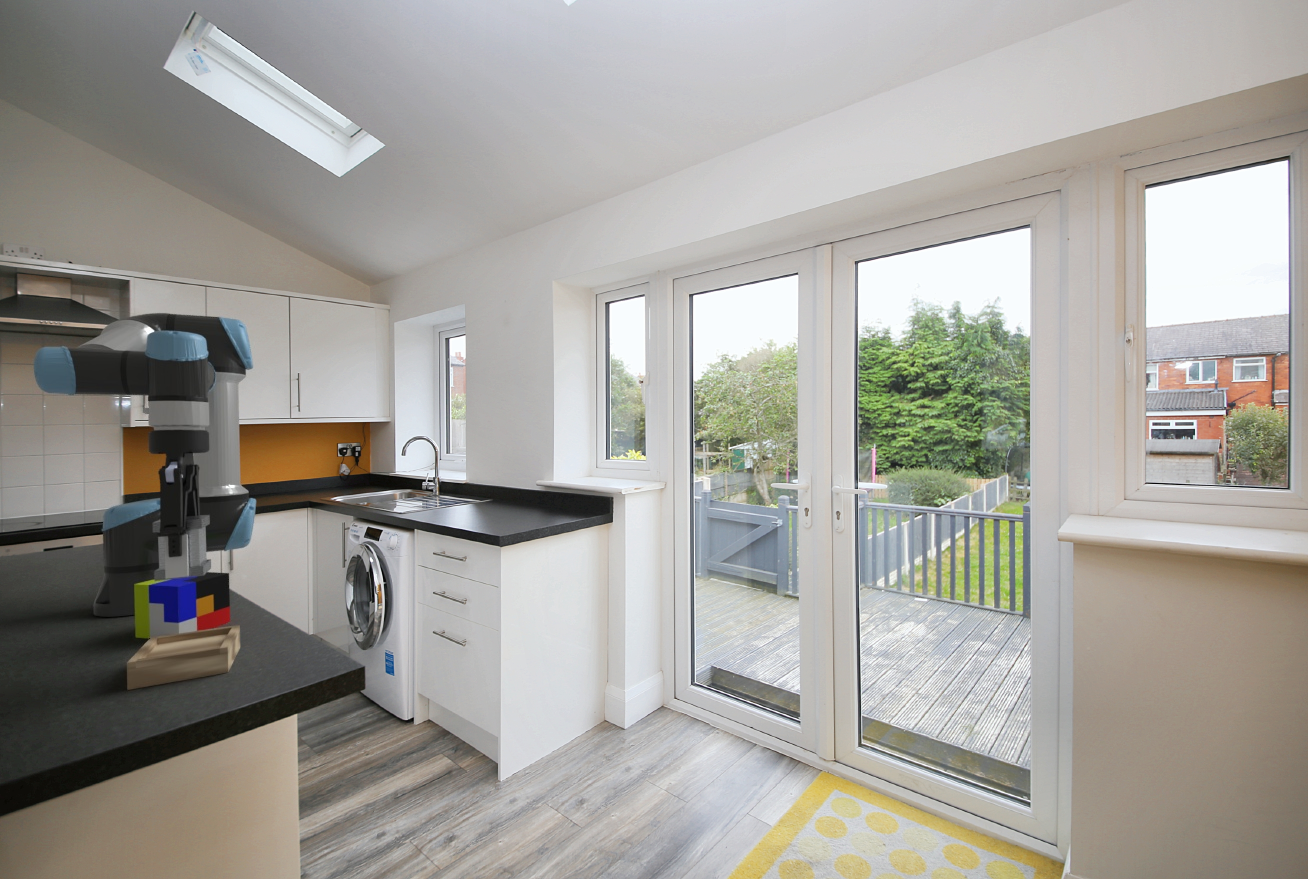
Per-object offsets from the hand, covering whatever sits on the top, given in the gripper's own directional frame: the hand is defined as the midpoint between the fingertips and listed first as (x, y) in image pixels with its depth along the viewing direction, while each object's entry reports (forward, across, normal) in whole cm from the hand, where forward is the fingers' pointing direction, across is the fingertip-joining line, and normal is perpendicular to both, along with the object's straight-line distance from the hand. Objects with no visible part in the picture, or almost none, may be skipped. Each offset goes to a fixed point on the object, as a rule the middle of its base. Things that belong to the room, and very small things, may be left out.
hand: (182, 572), depth 92 cm
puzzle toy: (+15, -23, -4) cm, 28 cm away
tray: (+15, 0, 0) cm, 15 cm away
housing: (0, 0, 0) cm, 0 cm away
